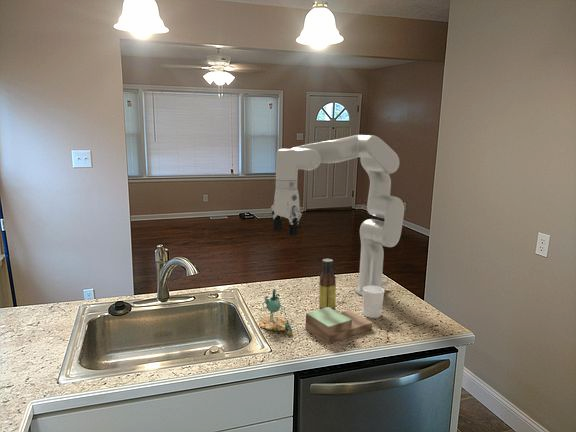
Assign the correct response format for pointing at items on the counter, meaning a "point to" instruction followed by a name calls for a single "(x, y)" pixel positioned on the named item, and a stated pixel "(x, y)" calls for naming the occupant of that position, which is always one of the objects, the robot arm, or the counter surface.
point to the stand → (335, 324)
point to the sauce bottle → (327, 286)
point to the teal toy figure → (271, 321)
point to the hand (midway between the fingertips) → (285, 232)
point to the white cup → (372, 301)
